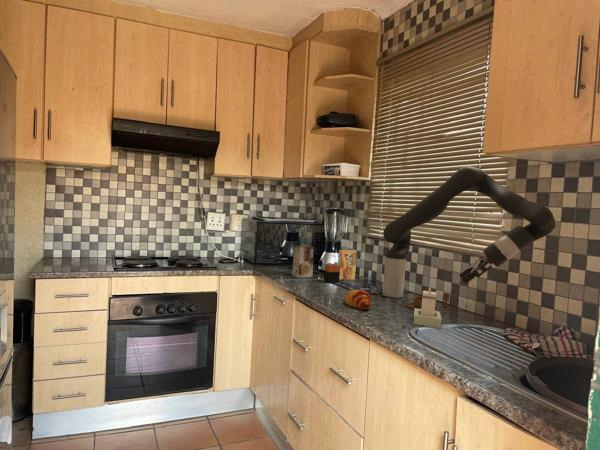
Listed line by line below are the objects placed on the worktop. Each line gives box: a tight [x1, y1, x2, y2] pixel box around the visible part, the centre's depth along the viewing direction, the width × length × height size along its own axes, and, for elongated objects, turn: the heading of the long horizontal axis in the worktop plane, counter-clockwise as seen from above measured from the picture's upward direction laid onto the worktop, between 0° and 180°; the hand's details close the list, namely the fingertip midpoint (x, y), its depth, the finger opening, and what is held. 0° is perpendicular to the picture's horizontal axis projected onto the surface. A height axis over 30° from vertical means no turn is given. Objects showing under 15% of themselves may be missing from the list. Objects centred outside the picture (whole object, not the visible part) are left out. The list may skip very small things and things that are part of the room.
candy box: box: [337, 249, 358, 281], centre depth 237 cm, size 9×4×15 cm, turn 107°
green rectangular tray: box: [413, 307, 443, 329], centre depth 160 cm, size 12×9×3 cm
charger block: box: [421, 287, 437, 316], centre depth 159 cm, size 5×5×12 cm
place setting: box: [407, 292, 450, 311], centre depth 180 cm, size 18×20×6 cm
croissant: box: [344, 289, 372, 310], centre depth 178 cm, size 21×10×8 cm, turn 15°
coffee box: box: [292, 245, 315, 278], centre depth 234 cm, size 9×6×16 cm
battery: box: [323, 262, 340, 284], centre depth 224 cm, size 4×7×10 cm, turn 113°
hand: (462, 279), depth 156 cm, fingers open, 8 cm apart
